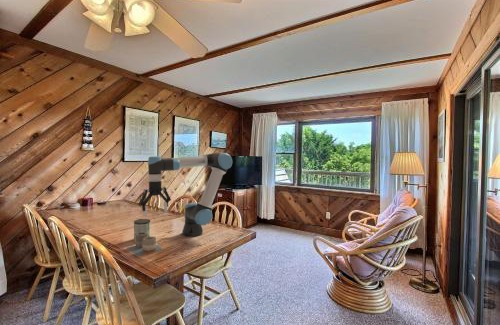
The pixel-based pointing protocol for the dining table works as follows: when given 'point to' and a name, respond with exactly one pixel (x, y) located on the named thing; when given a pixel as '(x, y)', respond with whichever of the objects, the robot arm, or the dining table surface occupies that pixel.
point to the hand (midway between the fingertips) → (155, 213)
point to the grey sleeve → (140, 239)
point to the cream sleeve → (149, 245)
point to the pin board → (141, 250)
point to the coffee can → (141, 227)
